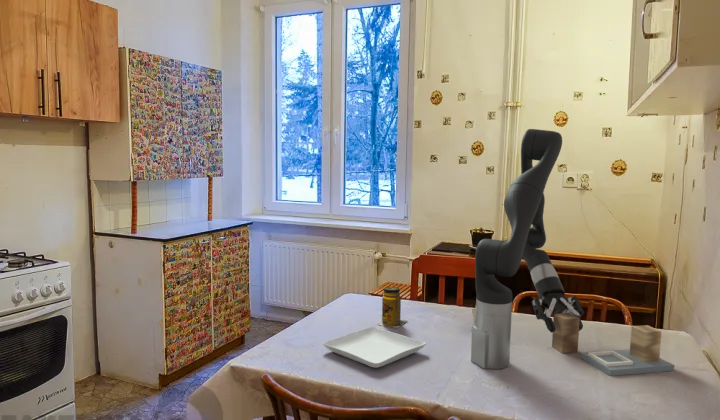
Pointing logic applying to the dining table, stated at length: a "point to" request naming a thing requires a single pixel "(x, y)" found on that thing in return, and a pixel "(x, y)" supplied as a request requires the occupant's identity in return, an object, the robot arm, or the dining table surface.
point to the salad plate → (374, 346)
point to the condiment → (391, 308)
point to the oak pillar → (645, 343)
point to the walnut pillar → (565, 333)
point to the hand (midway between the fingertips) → (566, 330)
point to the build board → (624, 363)
